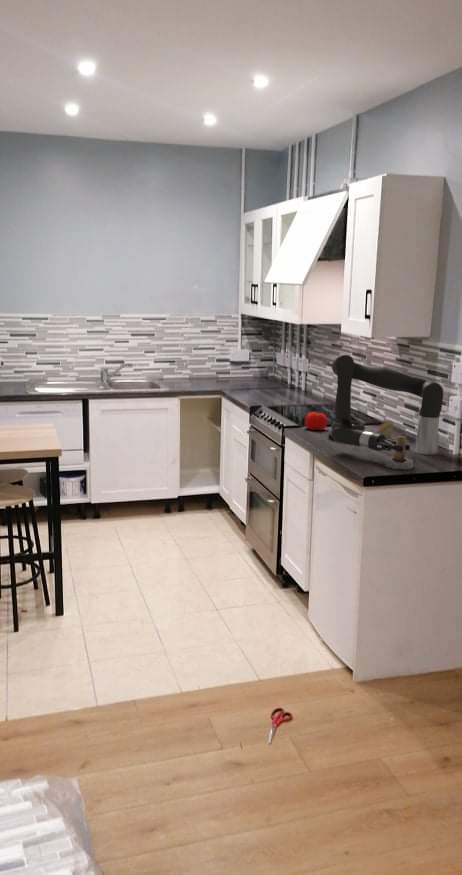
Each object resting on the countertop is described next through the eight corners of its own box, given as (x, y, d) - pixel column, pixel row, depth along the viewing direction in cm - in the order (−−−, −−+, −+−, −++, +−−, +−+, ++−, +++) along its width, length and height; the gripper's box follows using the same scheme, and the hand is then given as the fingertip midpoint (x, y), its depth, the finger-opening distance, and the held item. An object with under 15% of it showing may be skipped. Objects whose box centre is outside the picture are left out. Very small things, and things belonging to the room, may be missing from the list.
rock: (376, 437, 365) (396, 435, 366) (372, 422, 369) (392, 420, 369) (372, 446, 375) (391, 444, 376) (368, 431, 379) (388, 429, 379)
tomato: (328, 432, 387) (329, 414, 385) (305, 431, 387) (306, 413, 385) (325, 428, 397) (326, 411, 395) (303, 427, 397) (304, 410, 395)
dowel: (401, 463, 319) (404, 435, 317) (404, 465, 315) (407, 437, 313) (392, 463, 319) (395, 435, 316) (395, 465, 315) (398, 437, 312)
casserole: (376, 444, 362) (377, 427, 360) (341, 445, 356) (342, 427, 355) (352, 433, 385) (353, 417, 384) (319, 434, 379) (320, 418, 378)
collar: (406, 463, 323) (407, 457, 322) (415, 470, 312) (416, 463, 312) (382, 463, 322) (382, 456, 321) (390, 469, 311) (390, 462, 311)
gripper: (363, 434, 320) (397, 441, 308) (382, 431, 330) (416, 437, 318) (361, 451, 321) (395, 459, 309) (381, 447, 331) (414, 455, 319)
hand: (405, 448), depth 314 cm, fingers open, 4 cm apart
